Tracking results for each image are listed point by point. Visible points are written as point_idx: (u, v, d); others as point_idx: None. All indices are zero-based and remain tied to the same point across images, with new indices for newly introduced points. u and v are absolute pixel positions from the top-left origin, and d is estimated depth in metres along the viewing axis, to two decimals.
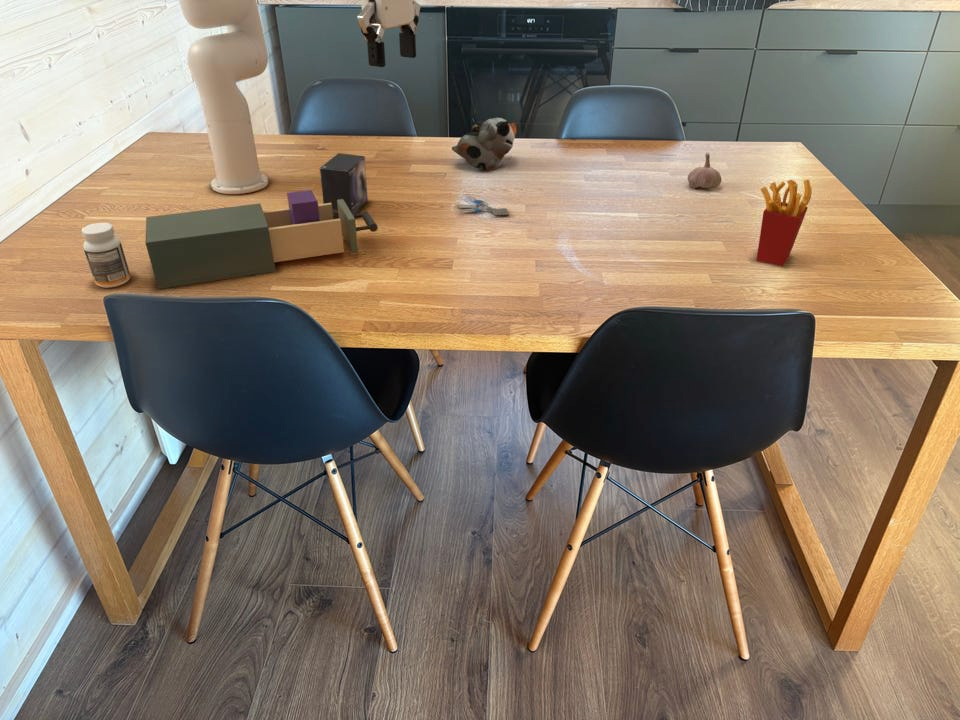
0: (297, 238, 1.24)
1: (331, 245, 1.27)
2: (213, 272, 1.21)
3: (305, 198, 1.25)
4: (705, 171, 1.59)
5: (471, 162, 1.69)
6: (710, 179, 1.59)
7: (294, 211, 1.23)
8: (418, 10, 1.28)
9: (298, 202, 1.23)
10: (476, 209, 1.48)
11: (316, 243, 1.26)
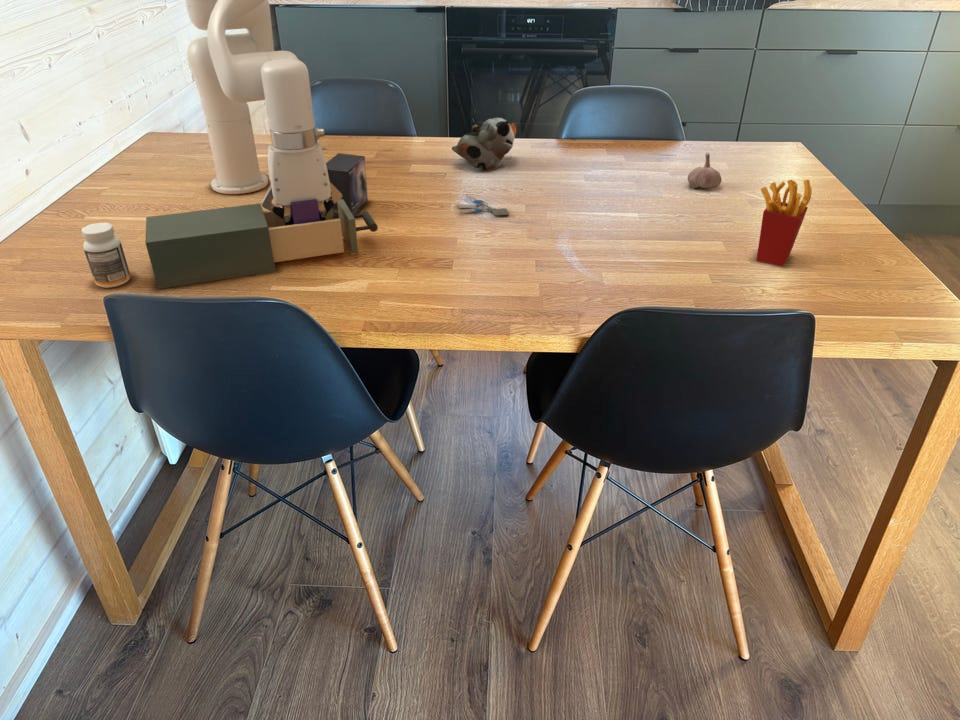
0: (297, 238, 1.24)
1: (331, 245, 1.27)
2: (213, 272, 1.21)
3: None
4: (705, 171, 1.59)
5: (471, 162, 1.69)
6: (710, 179, 1.59)
7: (294, 211, 1.23)
8: (338, 198, 1.27)
9: (298, 202, 1.23)
10: (476, 209, 1.48)
11: (316, 243, 1.26)
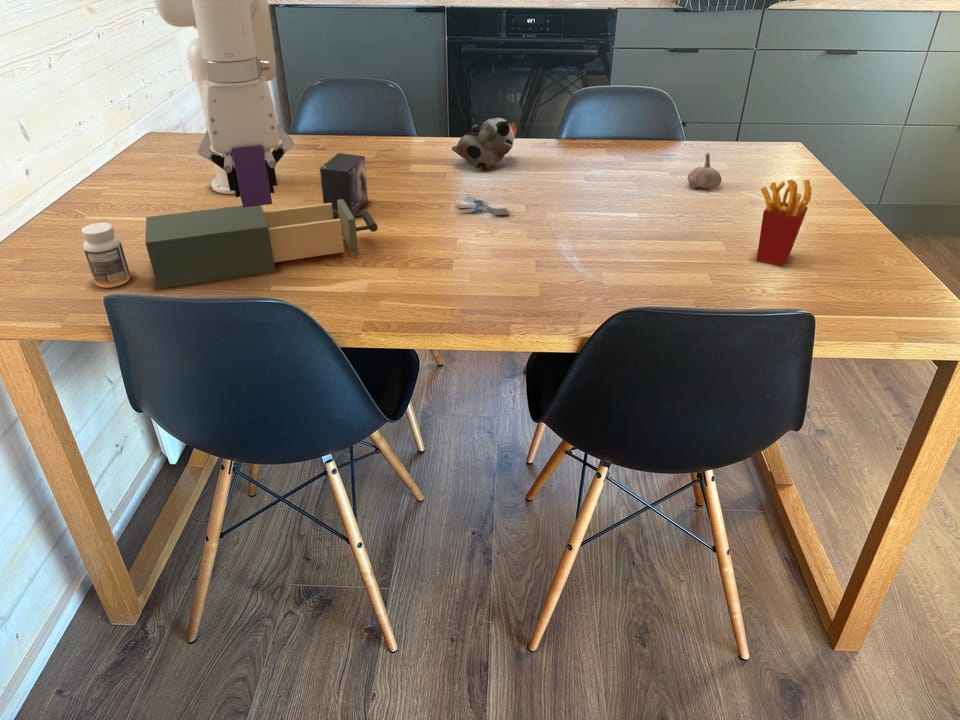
0: (297, 238, 1.24)
1: (331, 245, 1.27)
2: (213, 272, 1.21)
3: None
4: (705, 171, 1.59)
5: (471, 162, 1.69)
6: (710, 179, 1.59)
7: (235, 159, 1.05)
8: (289, 146, 1.09)
9: (240, 148, 1.05)
10: (476, 209, 1.48)
11: (316, 243, 1.26)
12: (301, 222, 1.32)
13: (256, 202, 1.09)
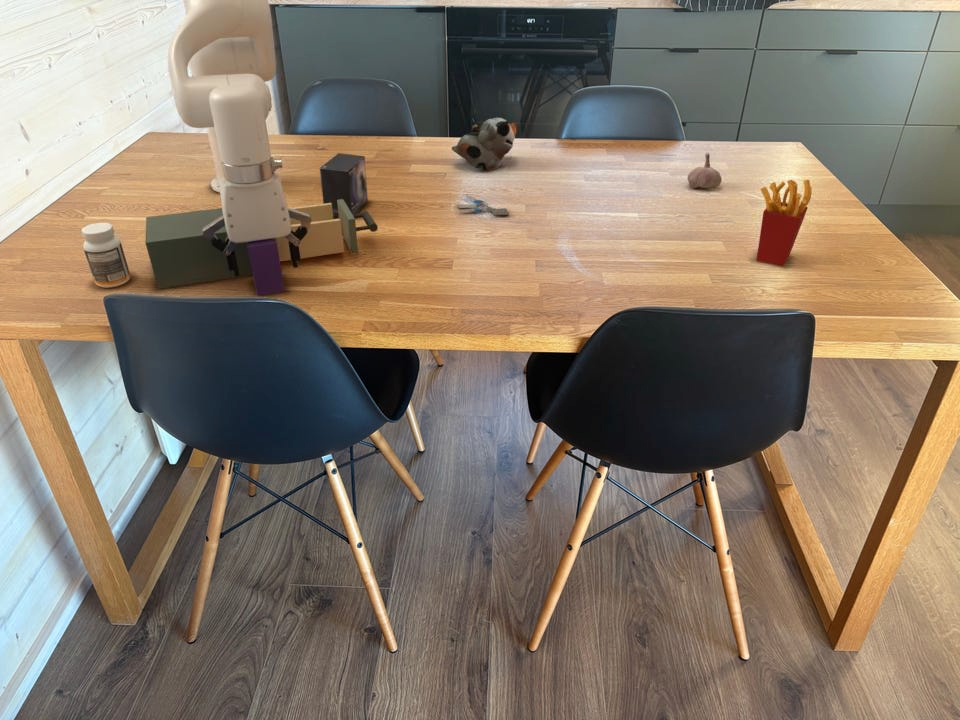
0: None
1: (331, 245, 1.27)
2: (213, 272, 1.21)
3: None
4: (705, 171, 1.59)
5: (471, 162, 1.69)
6: (710, 179, 1.59)
7: (251, 254, 1.13)
8: (309, 222, 1.17)
9: (255, 244, 1.13)
10: (476, 209, 1.48)
11: (316, 243, 1.26)
12: None
13: (270, 291, 1.18)
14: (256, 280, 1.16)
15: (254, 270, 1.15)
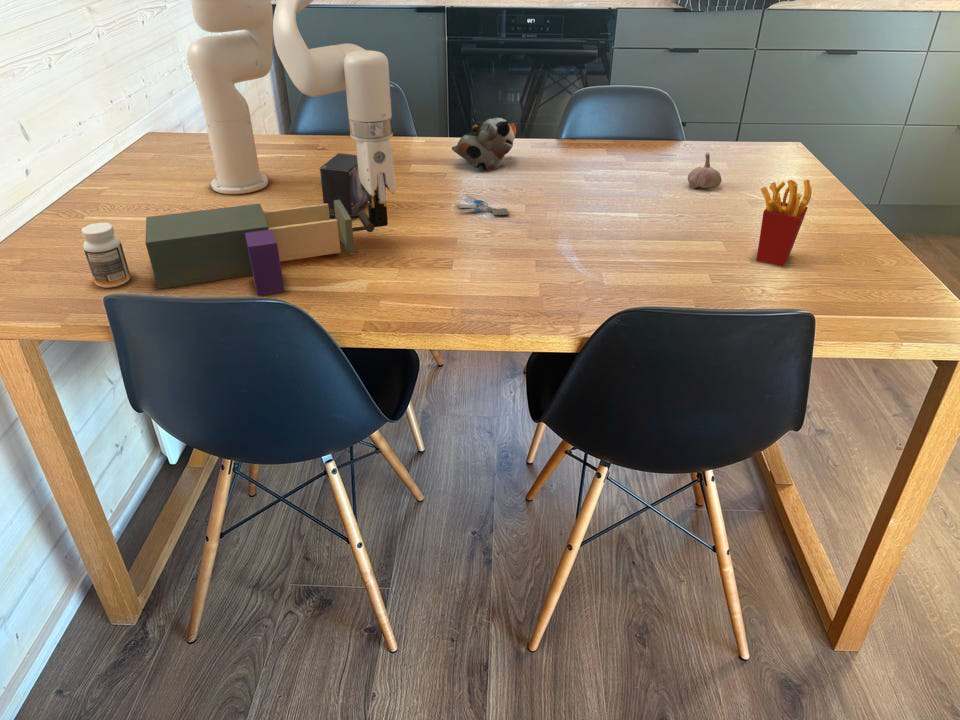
0: (293, 238, 1.24)
1: (327, 245, 1.27)
2: (213, 272, 1.21)
3: (264, 239, 1.15)
4: (705, 171, 1.59)
5: (471, 162, 1.69)
6: (710, 179, 1.59)
7: (251, 254, 1.13)
8: (379, 202, 1.26)
9: (255, 244, 1.13)
10: (476, 209, 1.48)
11: (313, 244, 1.26)
12: (298, 222, 1.31)
13: (270, 291, 1.18)
14: (256, 280, 1.16)
15: (254, 270, 1.15)
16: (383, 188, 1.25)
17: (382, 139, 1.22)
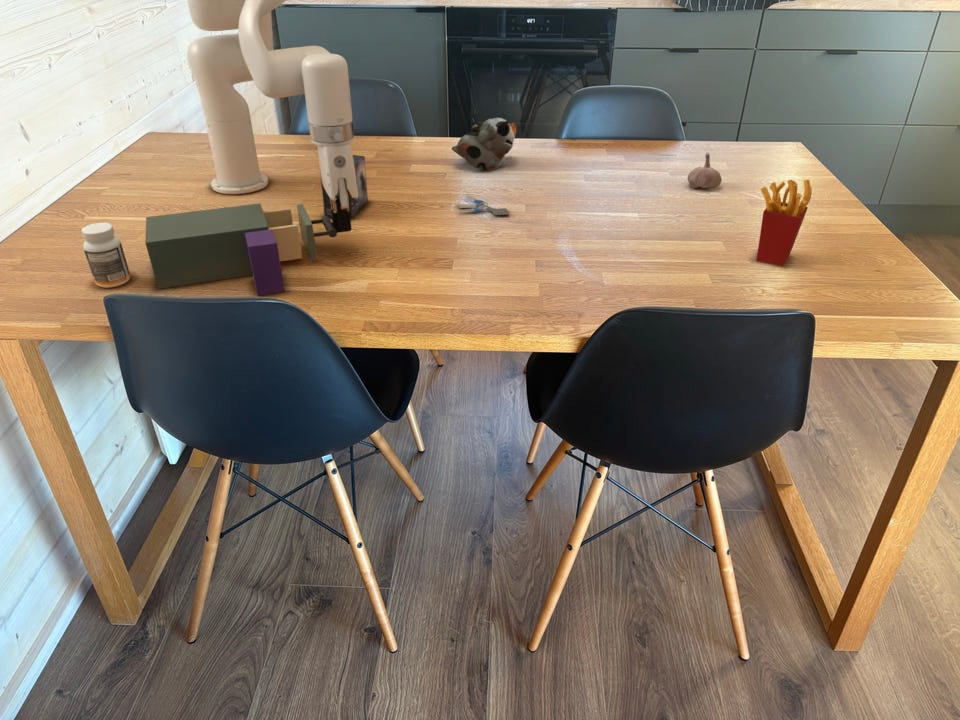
0: None
1: (289, 251, 1.25)
2: (213, 272, 1.21)
3: (264, 239, 1.15)
4: (705, 171, 1.59)
5: (471, 162, 1.69)
6: (711, 179, 1.59)
7: (251, 254, 1.13)
8: (340, 207, 1.24)
9: (255, 244, 1.13)
10: (476, 209, 1.48)
11: None
12: None
13: (270, 291, 1.18)
14: (256, 280, 1.16)
15: (254, 270, 1.15)
16: (344, 193, 1.23)
17: (342, 143, 1.20)
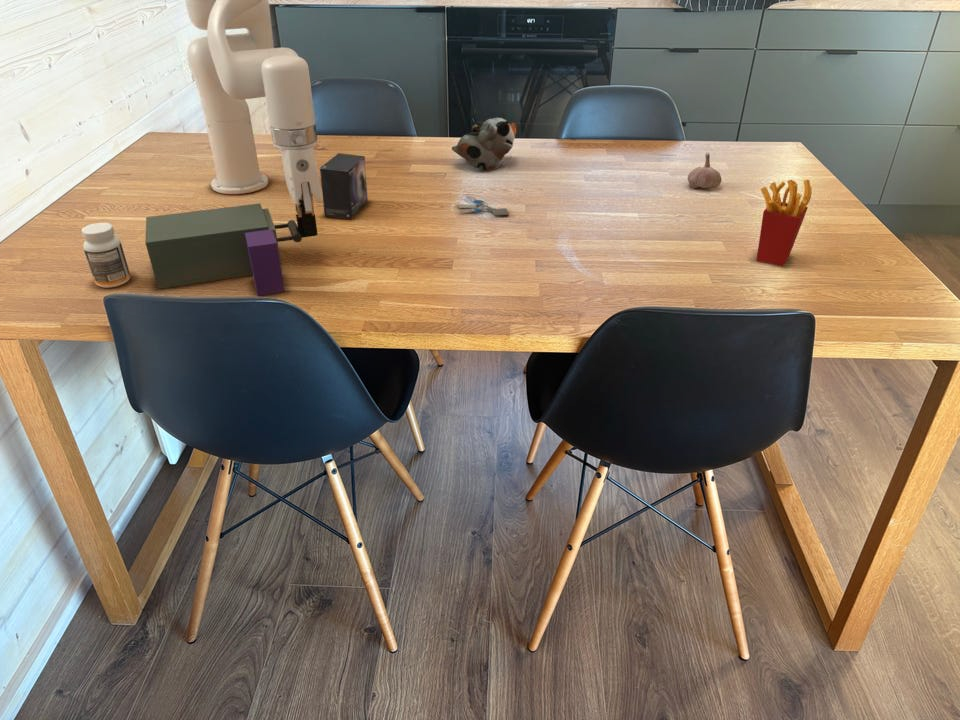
0: None
1: None
2: (213, 272, 1.21)
3: (264, 239, 1.15)
4: (705, 171, 1.59)
5: (471, 162, 1.69)
6: (710, 179, 1.59)
7: (251, 254, 1.13)
8: (305, 212, 1.23)
9: (255, 244, 1.13)
10: (476, 209, 1.48)
11: None
12: None
13: (270, 291, 1.18)
14: (256, 280, 1.16)
15: (254, 270, 1.15)
16: (308, 197, 1.21)
17: (305, 147, 1.18)
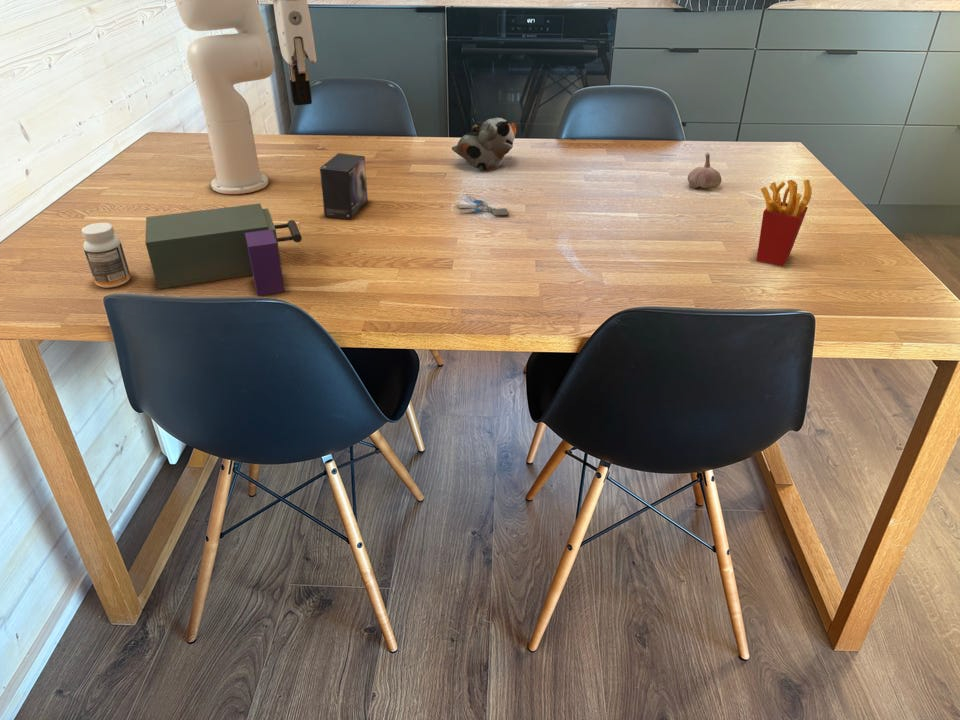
0: None
1: None
2: (213, 272, 1.21)
3: (264, 239, 1.15)
4: (705, 171, 1.59)
5: (471, 162, 1.69)
6: (711, 179, 1.59)
7: (251, 254, 1.13)
8: (298, 72, 1.18)
9: (255, 244, 1.13)
10: (476, 209, 1.48)
11: None
12: None
13: (270, 291, 1.18)
14: (256, 280, 1.16)
15: (254, 270, 1.15)
16: (301, 55, 1.16)
17: None
